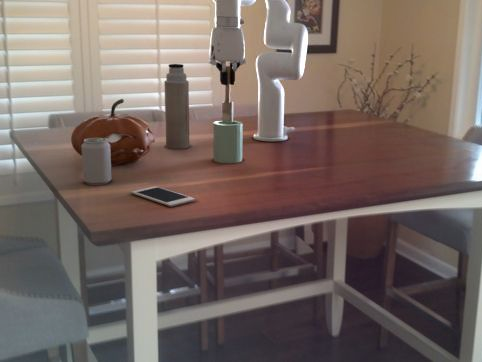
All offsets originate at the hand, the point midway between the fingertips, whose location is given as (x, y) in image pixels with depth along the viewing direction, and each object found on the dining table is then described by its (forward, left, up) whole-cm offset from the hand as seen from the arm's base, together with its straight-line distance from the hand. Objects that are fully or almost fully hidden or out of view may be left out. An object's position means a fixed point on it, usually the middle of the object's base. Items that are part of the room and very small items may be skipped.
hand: (227, 84), depth 206 cm
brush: (0, 0, -12) cm, 12 cm away
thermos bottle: (+6, -26, -24) cm, 36 cm away
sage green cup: (0, 0, -24) cm, 24 cm away
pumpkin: (+32, -14, -24) cm, 42 cm away
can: (+44, +8, -24) cm, 51 cm away
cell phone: (+34, +30, -24) cm, 51 cm away
